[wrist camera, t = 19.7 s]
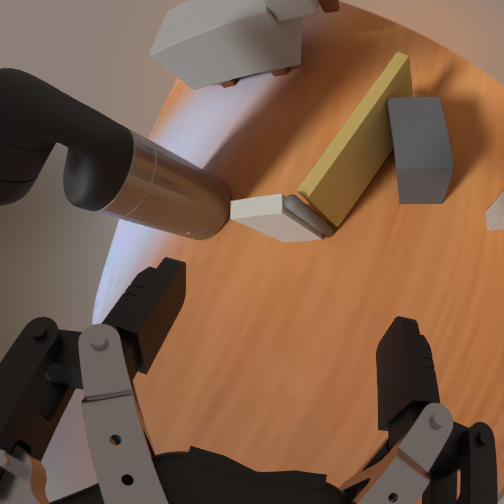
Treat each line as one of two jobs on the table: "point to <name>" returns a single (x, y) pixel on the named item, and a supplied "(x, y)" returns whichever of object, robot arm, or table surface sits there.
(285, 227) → the wall frame
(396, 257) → the table surface
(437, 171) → the rubber block
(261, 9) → the toy
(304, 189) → the door
